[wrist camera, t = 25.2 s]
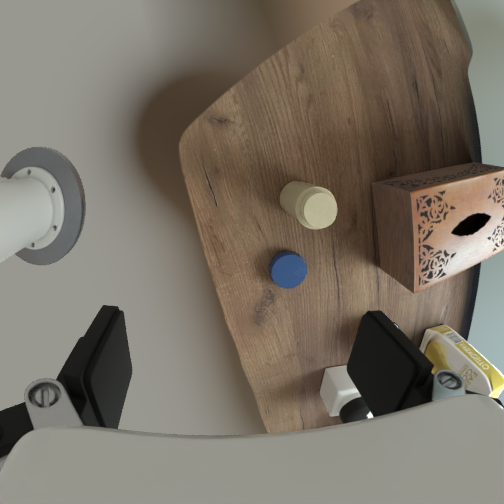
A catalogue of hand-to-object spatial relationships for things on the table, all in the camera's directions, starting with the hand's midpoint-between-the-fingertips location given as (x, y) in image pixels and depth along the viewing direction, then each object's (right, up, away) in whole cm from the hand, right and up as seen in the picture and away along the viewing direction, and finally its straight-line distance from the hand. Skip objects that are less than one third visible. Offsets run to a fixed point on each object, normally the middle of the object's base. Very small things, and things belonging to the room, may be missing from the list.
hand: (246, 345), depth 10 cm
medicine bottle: (+17, -22, +42) cm, 50 cm away
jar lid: (+5, +1, +31) cm, 32 cm away
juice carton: (+40, -16, +43) cm, 61 cm away
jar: (+6, +11, +30) cm, 32 cm away
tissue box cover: (+32, +11, +33) cm, 48 cm away
